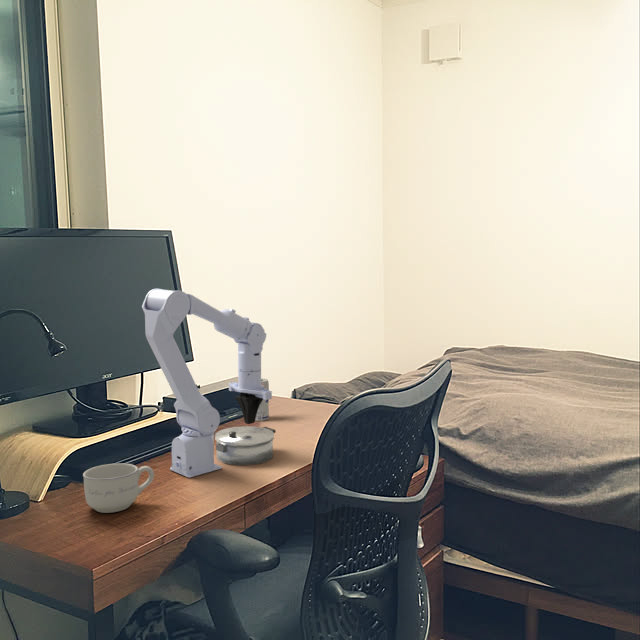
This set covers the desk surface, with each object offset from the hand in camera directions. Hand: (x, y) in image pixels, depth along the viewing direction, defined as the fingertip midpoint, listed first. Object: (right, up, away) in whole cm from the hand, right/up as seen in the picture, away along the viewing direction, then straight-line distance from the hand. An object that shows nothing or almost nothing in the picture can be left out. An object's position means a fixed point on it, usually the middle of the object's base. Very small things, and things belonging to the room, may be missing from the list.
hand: (249, 423), depth 175 cm
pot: (-1, -8, 0) cm, 8 cm away
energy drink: (-1, -4, +36) cm, 36 cm away
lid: (-1, -4, 0) cm, 4 cm away
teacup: (-23, -12, -33) cm, 42 cm away
